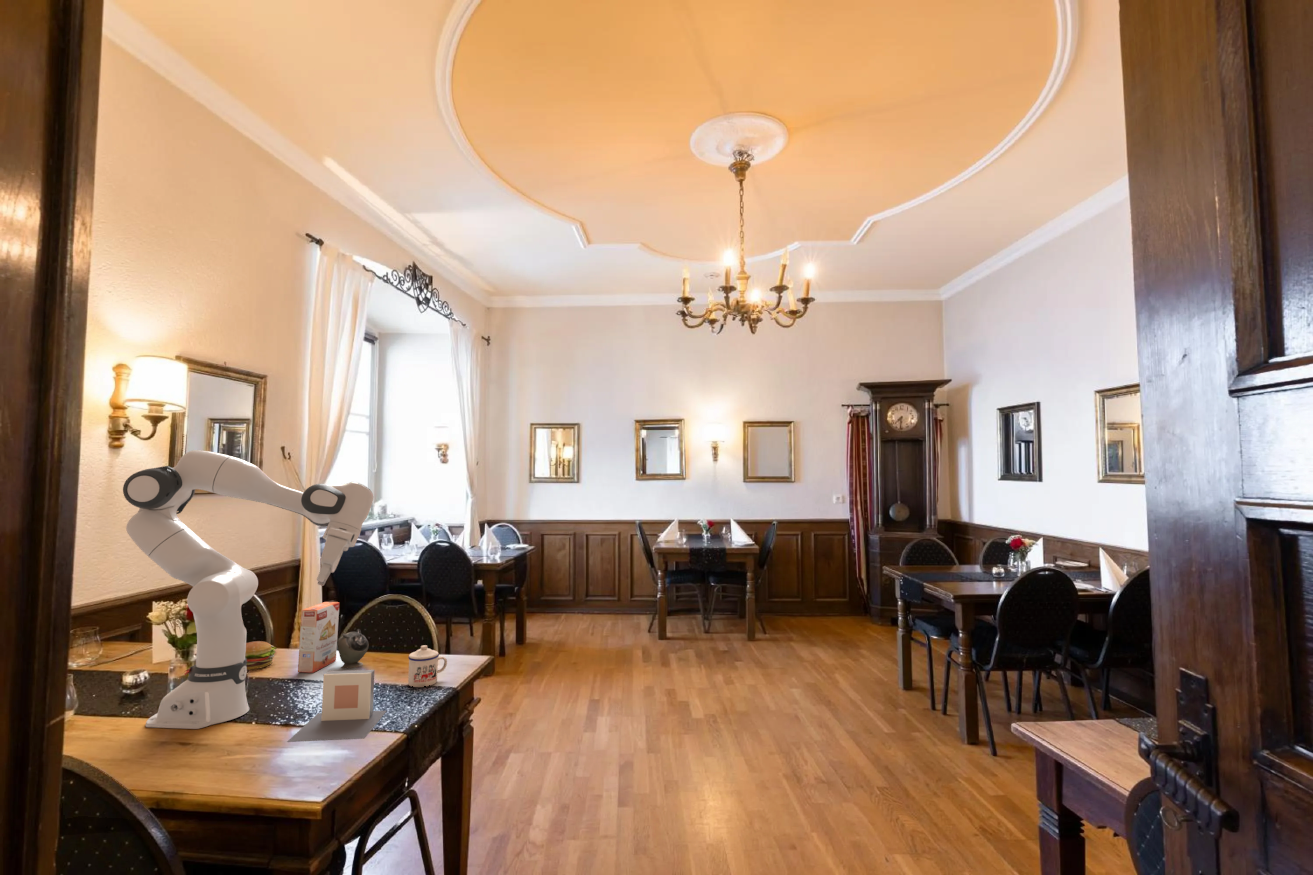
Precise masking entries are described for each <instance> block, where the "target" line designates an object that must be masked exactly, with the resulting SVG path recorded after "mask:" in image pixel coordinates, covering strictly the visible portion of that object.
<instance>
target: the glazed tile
mask: <svg viewBox="0 0 1313 875" xmlns="http://www.w3.org/2000/svg"><path fill="white" fill-rule="evenodd" d="M322 683H323V684H322V703H321V706H322V707H321V713H322V719H321V721H329V720H354V719H369V718H370V717H371V716H372V715H373V711H374V710H373V709H374V693H375V692H374V690H375V669H356V670H355V669H354V670H351V669H349V670H328V671H327V672H325V673H324V674H323V682H322Z"/></svg>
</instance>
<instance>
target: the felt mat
mask: <svg viewBox="0 0 1313 875" xmlns="http://www.w3.org/2000/svg"><path fill="white" fill-rule="evenodd" d="M386 713H387V710H373V715H372V716H371V717H370V718H369V719H354V720H329V721H321V719H322V712H319V713H317V714H315V716H313V718H311V719H310V720H309V721H308V722H307V723H306V724H304V726H302V727H301V728H300V729H299V731H297V732H296V733H295V734H294V735H292V736H291V738H289V739H288V740H287V741H286V742H287V743H291V742H292V743H293V742H295V743H296V742H312V741H313V742H314V741H335V740H338V741H339V740H357V739H358V740H359V739H360V740H361V739H366V737H367V736H368V735H369V733H370V732H372V730H373V728H374V727H375V726H376V725H377V724H378V723H379V721H380V720H381V719H382V718H383V716H384V715H385V714H386Z"/></svg>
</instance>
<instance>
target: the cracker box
mask: <svg viewBox="0 0 1313 875" xmlns="http://www.w3.org/2000/svg"><path fill="white" fill-rule="evenodd" d="M339 615H340V602H338V601H324V602H320V603H317V604H314V605H312V606H309V607H306V608H303V609H301V618H300V632H299V634H300V635H299V648H298V662H297V664H298V665H297V673H304V674H305V673H308V674H309V673H312V674H313V673H315V672H317V671H319V670H321V669H323V668H325V667H327V666H328V665H331V664H333V663H334V662H336V661H337V650H338V645H337V642H338V631H339V617H340V616H339Z"/></svg>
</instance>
